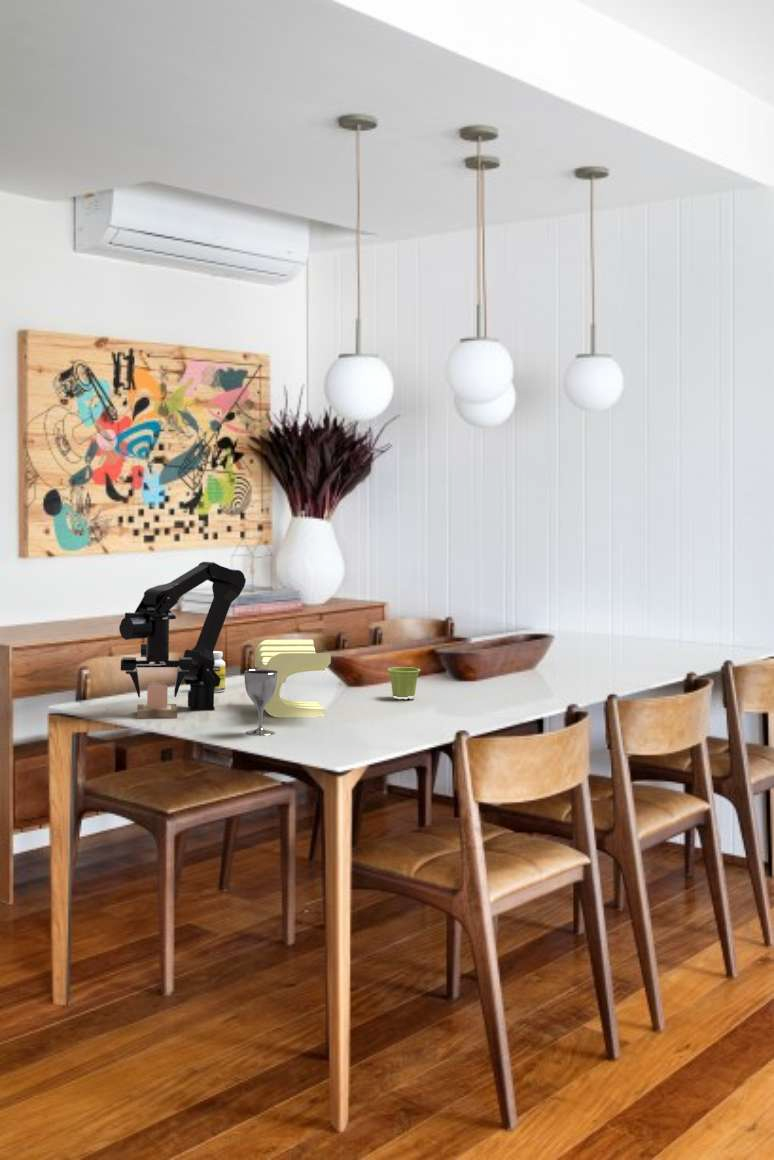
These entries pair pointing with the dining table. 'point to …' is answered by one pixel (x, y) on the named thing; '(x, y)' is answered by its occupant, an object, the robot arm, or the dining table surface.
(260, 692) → the wine glass
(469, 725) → the dining table surface
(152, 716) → the walnut plinth
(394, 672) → the plant pot
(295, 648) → the slatted curved stool
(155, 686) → the terracotta block
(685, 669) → the dining table surface
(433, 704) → the dining table surface
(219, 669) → the pill bottle
